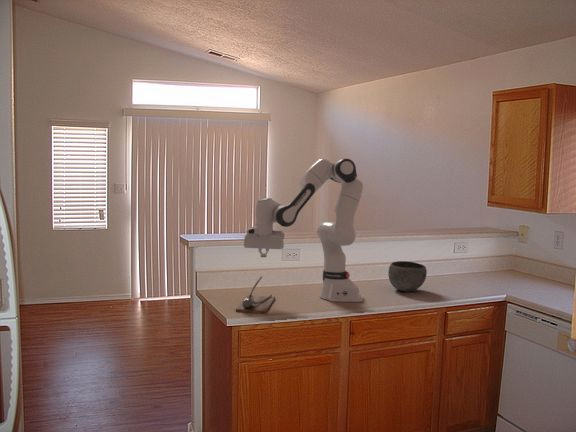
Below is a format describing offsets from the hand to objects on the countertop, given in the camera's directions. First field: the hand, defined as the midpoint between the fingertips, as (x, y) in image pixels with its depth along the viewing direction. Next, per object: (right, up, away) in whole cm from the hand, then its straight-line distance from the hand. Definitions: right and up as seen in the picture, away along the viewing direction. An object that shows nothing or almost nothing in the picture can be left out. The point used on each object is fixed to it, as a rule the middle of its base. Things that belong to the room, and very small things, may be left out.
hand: (263, 257), depth 293 cm
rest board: (-3, -22, -14) cm, 26 cm away
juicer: (-1, -15, +1) cm, 15 cm away
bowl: (+78, -21, +27) cm, 85 cm away
